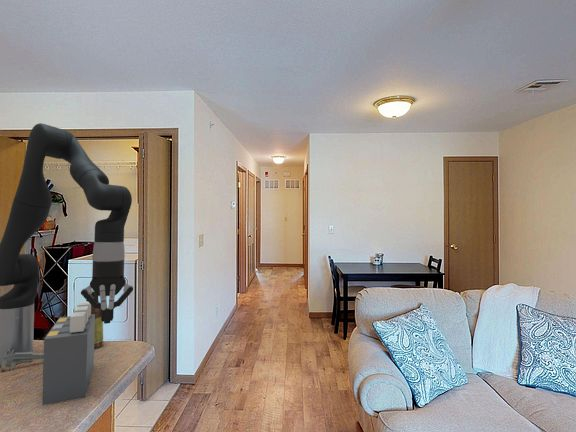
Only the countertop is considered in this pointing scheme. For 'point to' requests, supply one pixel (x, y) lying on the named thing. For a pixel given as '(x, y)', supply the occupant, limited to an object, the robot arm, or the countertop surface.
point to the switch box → (67, 361)
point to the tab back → (85, 305)
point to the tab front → (77, 322)
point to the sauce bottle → (97, 324)
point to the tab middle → (83, 309)
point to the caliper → (19, 358)
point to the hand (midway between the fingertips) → (107, 322)
